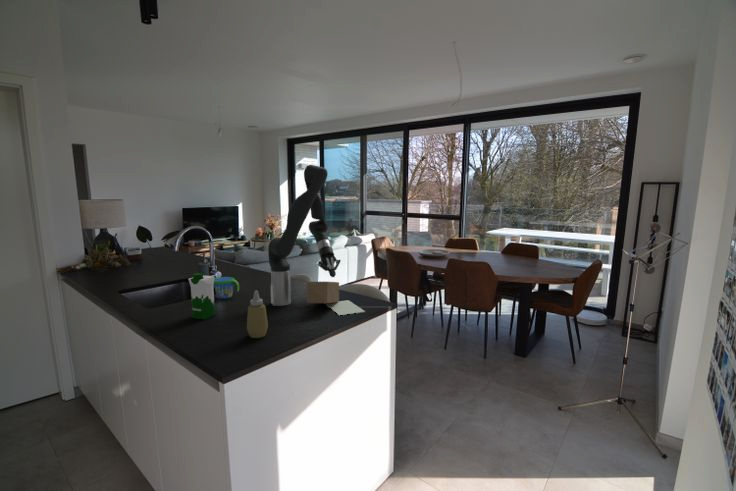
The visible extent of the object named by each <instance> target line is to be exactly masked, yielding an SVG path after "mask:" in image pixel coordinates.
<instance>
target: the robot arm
mask: <svg viewBox="0 0 736 491" xmlns="http://www.w3.org/2000/svg"><path fill="white" fill-rule="evenodd" d="M303 179H304V182H305V187H306V191H304V192H303V193H302V194H300V195H298V197H296V198H295V199H294V200H293V202H292V204H291V206H290V208H289V209H288V212H287V217H286V218H287V220H286V227H285V229H284V232H283V234H282V235H281V236H280V237H274V238H272V239H271V240H270V241H269V244H268V248H267V251H268V252H267V254H268V262H269V266H270V274H271V275H270V276H271V277H270V279H271V280H270V282H271V284H270V303H271V305H272V306H273V307H274V306H275V307H277V306H278V307H283V306H288V305H290V304H291V303H292V302H291V301H292V300H291V298H292V297H291V293H292V292H291V264H290V263H289V262H288V259H287V257H288V256H290V254H291V253H292V252H293V249H294V246H295V243H296V241H297V238H298V235H299V233H300V231H301V229H302V227H303V224H304V222H305V220H306V219H307V217H308V215H309V213H310V216H311V218H312V219H313V220H314V221H310V222H309V224H308V229H309V232H310V234H311V236H313V238H314V240H315V242H316V247H317V251H318V254H319V257H320V260H319V261H318V263H317V266H318V267H320V268H321V269H322V270H323V271H325V272H328V273H329V276H330V277H331V278H335V276H336V274H337V273H336V270H337V269H338V267H339V265H340V264H341V259H337V258H336V256H335V253H334V251H333V248H332V247H333V246H332V244H331V241H330V239H329V235H328V234H327V233H326V232H327V231H328V228H329V227H328V226H329V225H328V223H327V221H326V217H325V214H324V211H325V210H324V203H323V200H322V197H321V196H320V194H319V193H320V191H321V190H322V188H323V187H324V185H325V183H326V181H327V179H328V170H327V169H326V168H325V167H323V166H318V165H314V164H308V165H306V166H305V168H304V170H303Z"/></svg>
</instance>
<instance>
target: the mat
mask: <svg viewBox="0 0 736 491" xmlns="http://www.w3.org/2000/svg"><path fill="white" fill-rule="evenodd" d="M325 304H326V305H327V306H326V305H325ZM324 305H325V306H326V307H327V308H329V309H330V308H331V309H332V310H331V309H330V310H331V311H332V312H334V313H335V312H336V313H337V315H338V316H340V315H343V316H348V315H347V314H350V315H354V313H356V314H362V313H366V311H365V310H364V309H362V308H361V307H359V306H358V305H356V304H355V303H353V302H352V301H350V300H341V301H340V300H339V302H333V303H324ZM336 313H335V314H336ZM340 317H341V316H340Z"/></svg>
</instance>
